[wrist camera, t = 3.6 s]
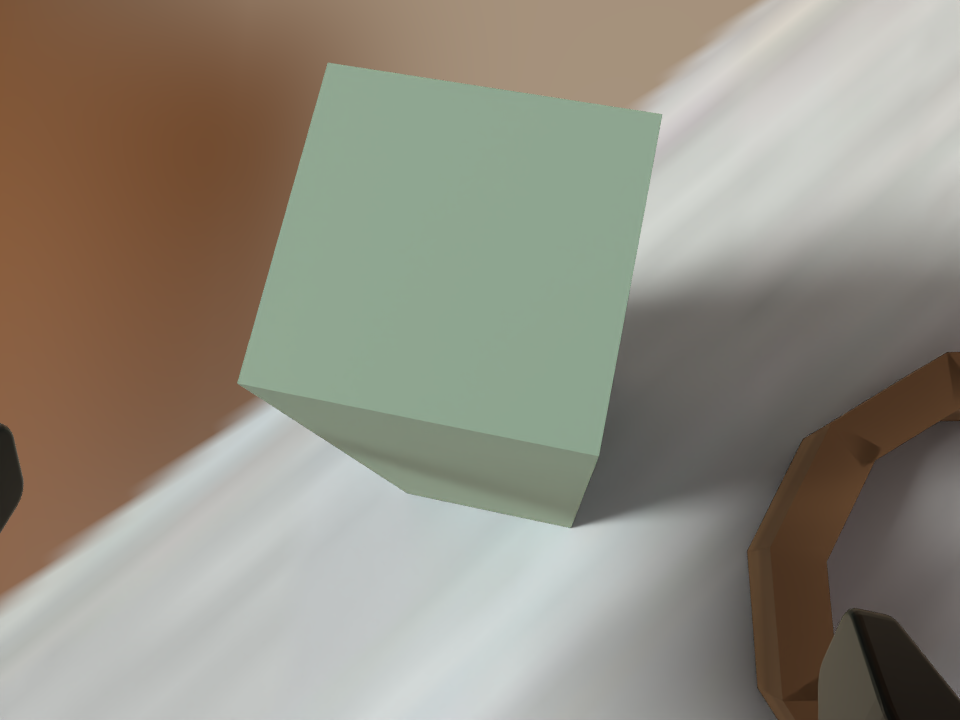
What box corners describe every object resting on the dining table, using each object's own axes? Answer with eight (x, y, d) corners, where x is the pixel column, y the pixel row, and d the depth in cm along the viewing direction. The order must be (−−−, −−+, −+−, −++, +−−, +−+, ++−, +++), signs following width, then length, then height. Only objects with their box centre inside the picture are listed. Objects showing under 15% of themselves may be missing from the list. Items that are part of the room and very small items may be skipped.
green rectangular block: (570, 527, 19) (599, 455, 8) (406, 493, 20) (237, 383, 9) (601, 366, 20) (662, 114, 9) (443, 336, 20) (328, 62, 10)
